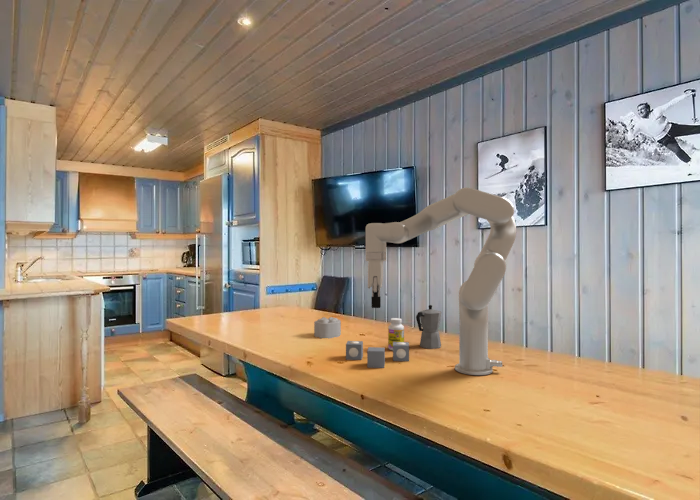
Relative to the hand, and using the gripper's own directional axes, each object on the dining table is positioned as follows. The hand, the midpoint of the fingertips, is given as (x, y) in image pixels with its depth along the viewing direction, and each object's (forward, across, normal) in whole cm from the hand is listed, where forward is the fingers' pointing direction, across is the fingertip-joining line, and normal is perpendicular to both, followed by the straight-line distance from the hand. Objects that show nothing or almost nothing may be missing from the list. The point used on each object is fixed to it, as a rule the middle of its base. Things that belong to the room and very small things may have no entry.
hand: (376, 307), depth 156 cm
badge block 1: (+21, -10, -9) cm, 25 cm away
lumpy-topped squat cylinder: (+21, -51, -26) cm, 61 cm away
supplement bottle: (+21, -26, +7) cm, 34 cm away
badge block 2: (+21, -10, +9) cm, 25 cm away
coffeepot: (+21, -32, +21) cm, 44 cm away
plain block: (+21, 0, 0) cm, 21 cm away
